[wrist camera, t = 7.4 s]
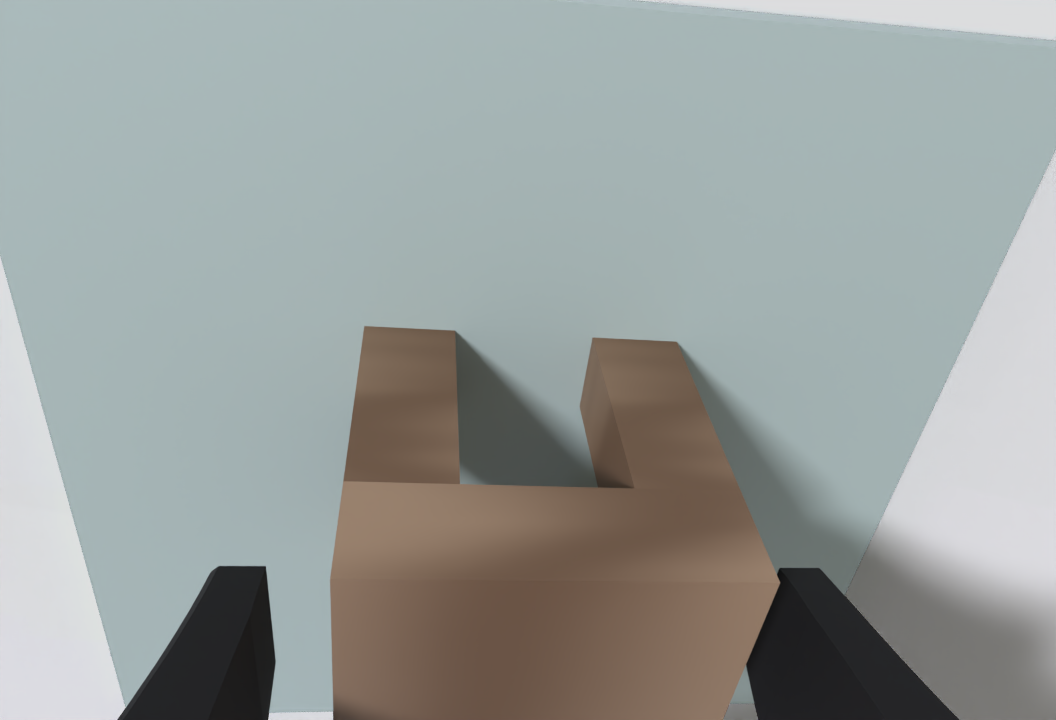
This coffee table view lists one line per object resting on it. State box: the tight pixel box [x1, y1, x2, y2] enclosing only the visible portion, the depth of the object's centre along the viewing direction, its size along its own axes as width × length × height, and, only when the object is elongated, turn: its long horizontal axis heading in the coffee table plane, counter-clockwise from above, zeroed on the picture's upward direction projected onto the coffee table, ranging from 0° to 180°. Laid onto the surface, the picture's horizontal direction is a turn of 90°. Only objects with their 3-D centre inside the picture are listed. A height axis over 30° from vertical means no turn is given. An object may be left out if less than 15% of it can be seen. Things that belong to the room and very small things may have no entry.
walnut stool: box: [330, 326, 780, 720], centre depth 13 cm, size 5×5×5 cm
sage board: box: [0, 0, 1056, 713], centre depth 15 cm, size 15×15×1 cm
